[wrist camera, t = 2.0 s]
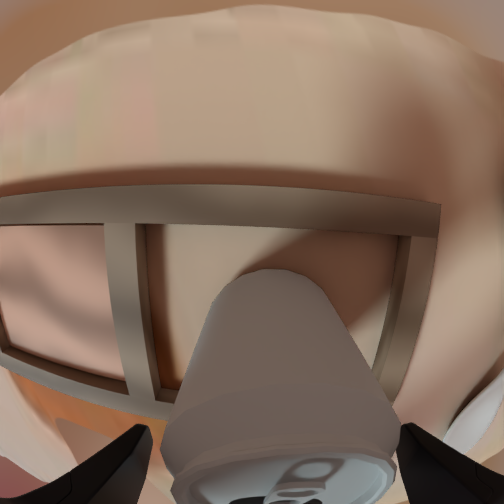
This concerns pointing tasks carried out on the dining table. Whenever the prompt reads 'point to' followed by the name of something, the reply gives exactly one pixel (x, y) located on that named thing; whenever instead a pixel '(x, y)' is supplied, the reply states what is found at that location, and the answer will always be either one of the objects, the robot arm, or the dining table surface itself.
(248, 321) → the can
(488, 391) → the spoon
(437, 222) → the ladder rack
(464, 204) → the dining table surface
